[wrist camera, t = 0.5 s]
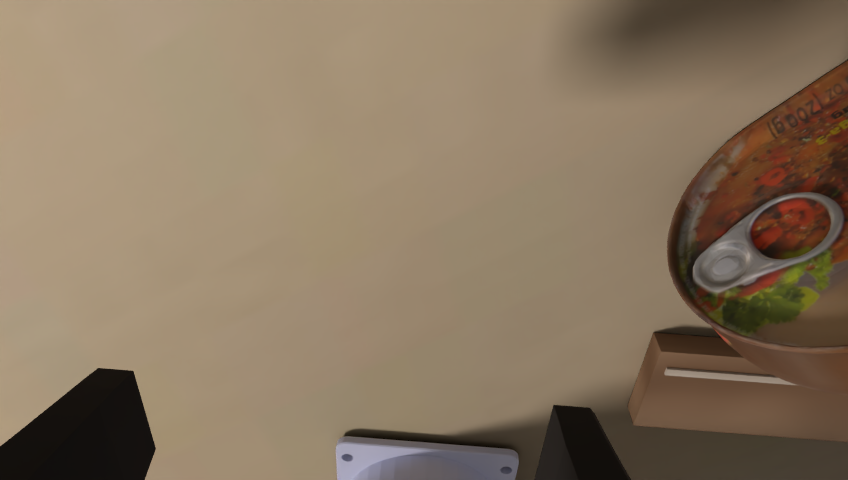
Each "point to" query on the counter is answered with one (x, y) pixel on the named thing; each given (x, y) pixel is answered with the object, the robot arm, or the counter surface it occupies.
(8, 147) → the counter surface
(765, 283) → the tin
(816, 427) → the board
